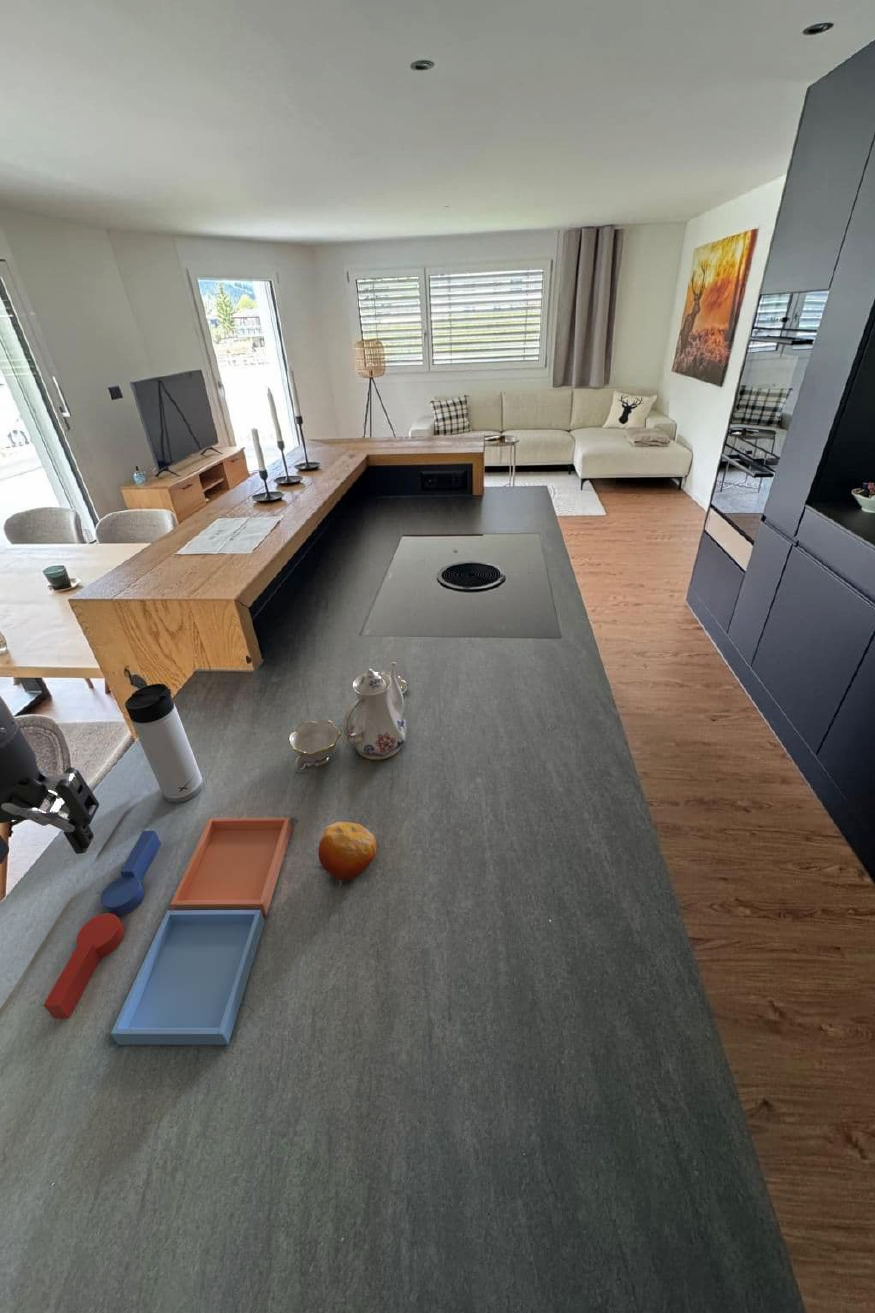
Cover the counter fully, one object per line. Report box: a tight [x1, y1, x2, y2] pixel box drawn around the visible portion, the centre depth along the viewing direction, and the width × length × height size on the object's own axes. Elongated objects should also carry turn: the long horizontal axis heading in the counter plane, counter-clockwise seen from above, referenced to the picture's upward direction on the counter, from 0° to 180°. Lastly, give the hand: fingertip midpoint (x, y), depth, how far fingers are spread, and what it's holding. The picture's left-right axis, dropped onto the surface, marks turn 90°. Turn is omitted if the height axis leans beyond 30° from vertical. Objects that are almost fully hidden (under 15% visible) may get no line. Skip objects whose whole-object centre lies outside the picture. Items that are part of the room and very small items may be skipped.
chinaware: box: [287, 662, 409, 772], centre depth 97 cm, size 28×17×17 cm, turn 150°
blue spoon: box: [100, 830, 162, 917], centre depth 77 cm, size 12×5×3 cm, turn 179°
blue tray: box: [110, 910, 266, 1046], centre depth 65 cm, size 12×14×2 cm
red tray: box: [169, 816, 293, 916], centre depth 78 cm, size 12×14×2 cm
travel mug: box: [124, 683, 204, 804], centre depth 87 cm, size 6×7×20 cm
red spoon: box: [43, 912, 125, 1019], centre depth 67 cm, size 12×5×3 cm, turn 179°
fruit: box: [317, 821, 377, 890], centre depth 77 cm, size 8×8×8 cm
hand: (43, 852), depth 60 cm, fingers open, 8 cm apart
